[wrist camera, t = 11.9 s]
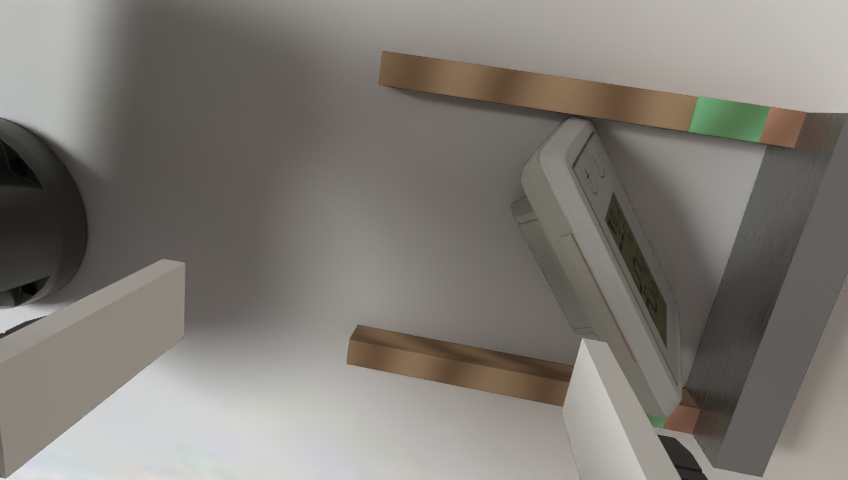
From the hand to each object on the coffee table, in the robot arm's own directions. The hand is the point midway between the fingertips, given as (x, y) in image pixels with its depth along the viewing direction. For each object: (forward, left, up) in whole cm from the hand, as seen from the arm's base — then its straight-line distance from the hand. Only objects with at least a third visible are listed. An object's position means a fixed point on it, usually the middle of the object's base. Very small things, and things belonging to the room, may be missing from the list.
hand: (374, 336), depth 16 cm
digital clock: (+11, 0, -20) cm, 23 cm away
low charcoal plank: (+22, -1, -20) cm, 30 cm away
